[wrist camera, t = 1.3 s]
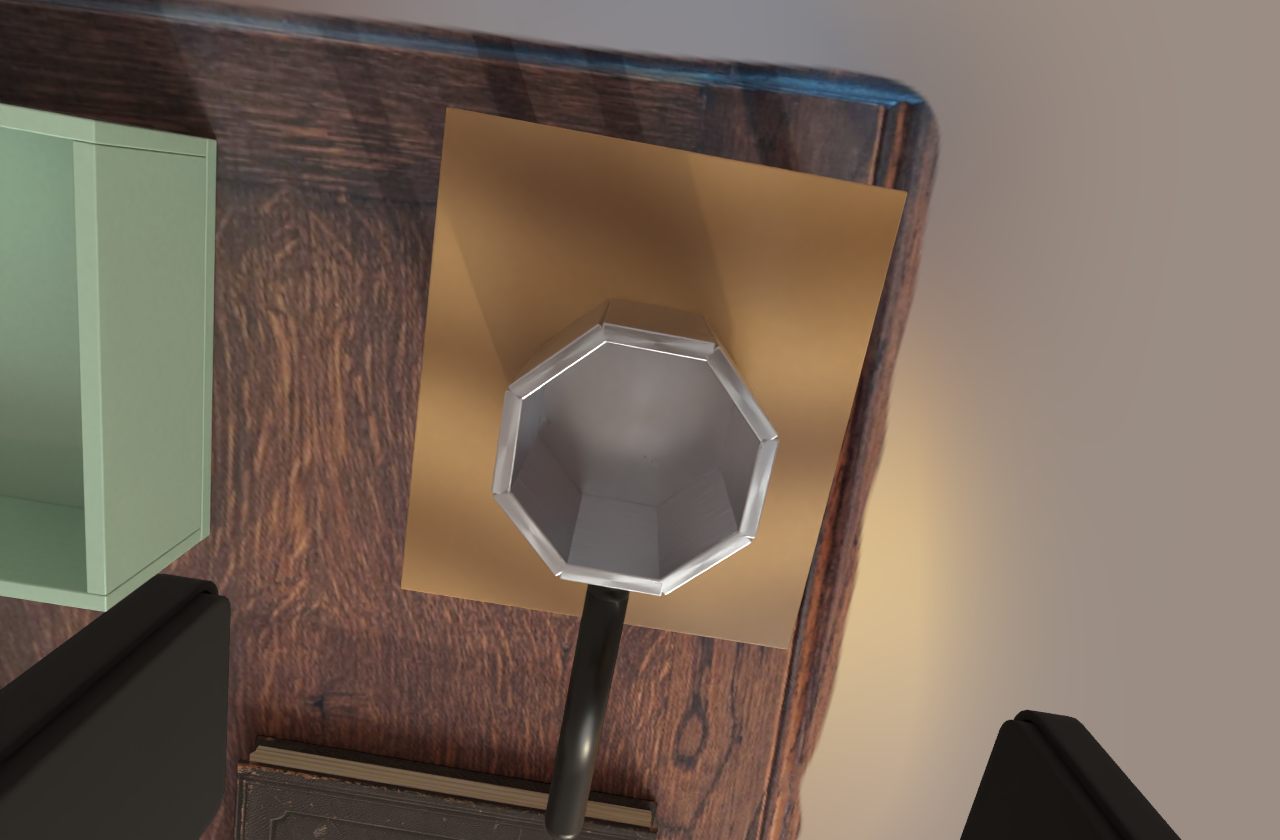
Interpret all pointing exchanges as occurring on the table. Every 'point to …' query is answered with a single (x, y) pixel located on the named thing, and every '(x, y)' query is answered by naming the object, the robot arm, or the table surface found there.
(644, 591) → the saucepan
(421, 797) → the hardcover book
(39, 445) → the basin
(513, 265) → the stand
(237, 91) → the table surface
